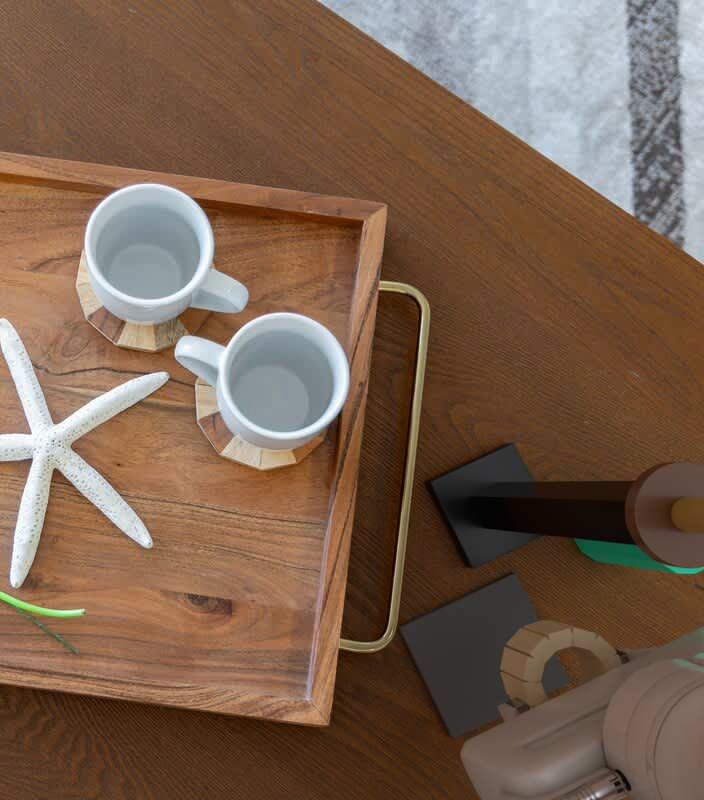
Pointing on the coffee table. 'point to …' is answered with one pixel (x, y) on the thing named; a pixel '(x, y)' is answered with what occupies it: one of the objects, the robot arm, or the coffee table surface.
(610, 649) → the tan segmented ring
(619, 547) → the candle
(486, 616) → the mat
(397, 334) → the coffee table surface
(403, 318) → the coffee table surface
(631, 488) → the stand
